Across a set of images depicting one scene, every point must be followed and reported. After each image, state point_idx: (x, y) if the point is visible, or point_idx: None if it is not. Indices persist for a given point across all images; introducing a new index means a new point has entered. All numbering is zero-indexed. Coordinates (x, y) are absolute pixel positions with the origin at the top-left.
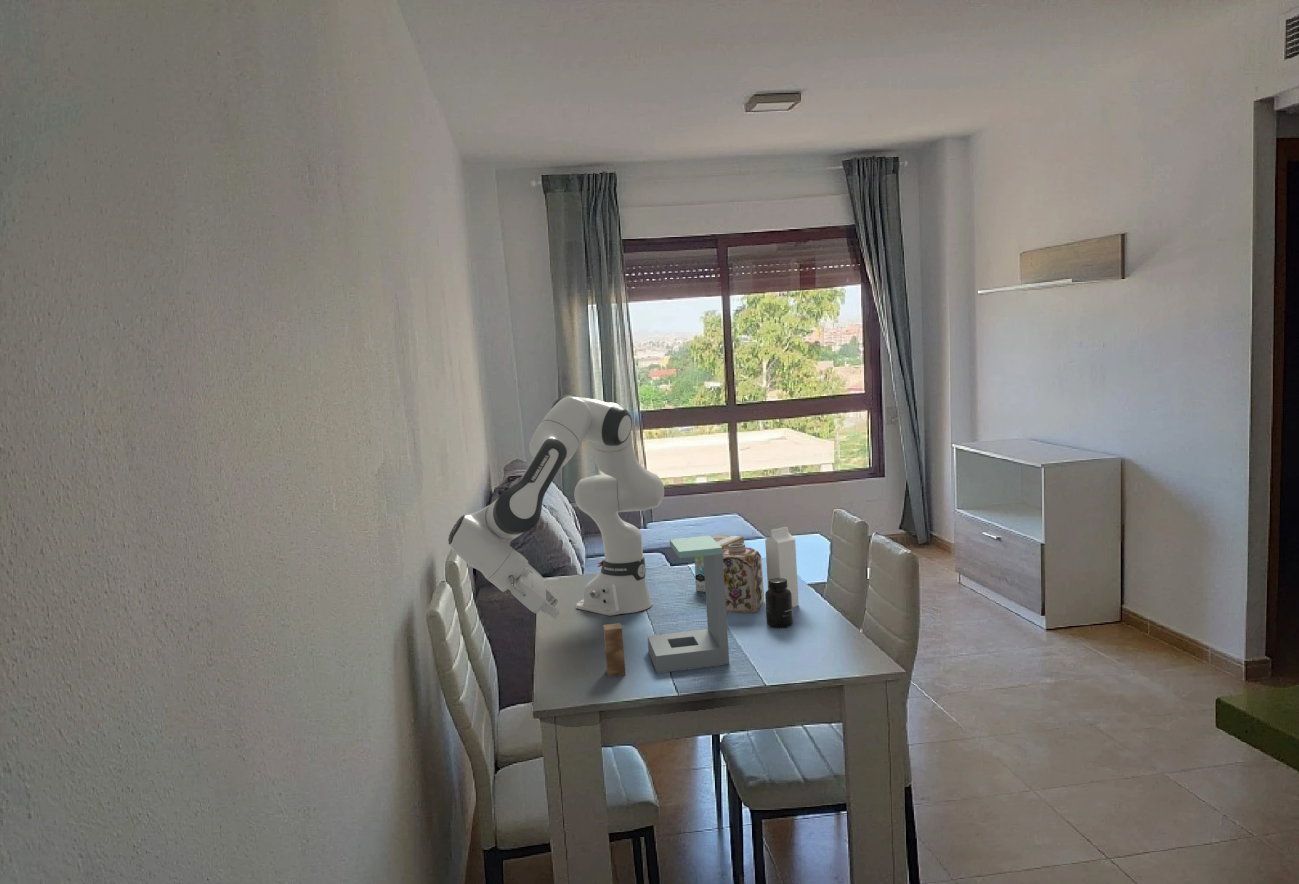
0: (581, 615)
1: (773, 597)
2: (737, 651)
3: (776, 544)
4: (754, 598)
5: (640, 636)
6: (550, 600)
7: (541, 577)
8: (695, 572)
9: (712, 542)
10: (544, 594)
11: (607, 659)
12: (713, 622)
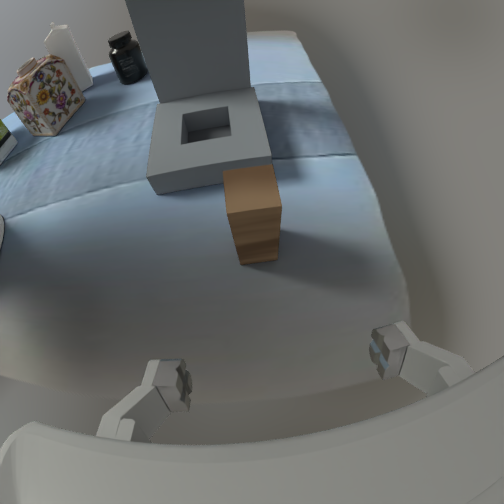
0: None
1: (133, 48)
2: None
3: (63, 31)
4: (79, 88)
5: (82, 215)
6: (183, 400)
7: (27, 446)
8: None
9: None
10: (460, 395)
11: (278, 243)
12: (207, 70)
